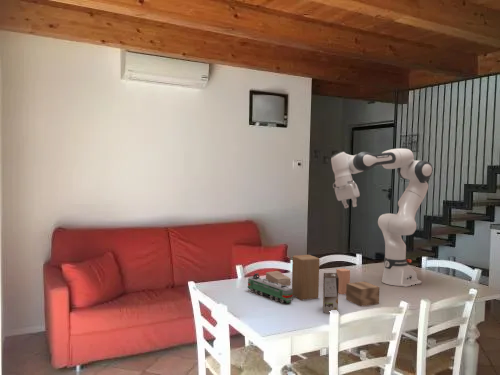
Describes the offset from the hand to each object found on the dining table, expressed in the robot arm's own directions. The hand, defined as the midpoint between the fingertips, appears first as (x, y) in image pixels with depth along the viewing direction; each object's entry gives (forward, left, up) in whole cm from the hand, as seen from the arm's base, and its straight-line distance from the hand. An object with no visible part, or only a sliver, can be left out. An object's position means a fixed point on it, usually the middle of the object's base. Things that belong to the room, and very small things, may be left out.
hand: (350, 207), depth 229 cm
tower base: (+8, +21, -44) cm, 49 cm away
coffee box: (+30, +26, -44) cm, 59 cm away
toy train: (+47, -2, -44) cm, 64 cm away
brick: (+30, -25, -44) cm, 59 cm away
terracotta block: (+8, +5, -44) cm, 45 cm away
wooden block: (+30, +4, -44) cm, 53 cm away
